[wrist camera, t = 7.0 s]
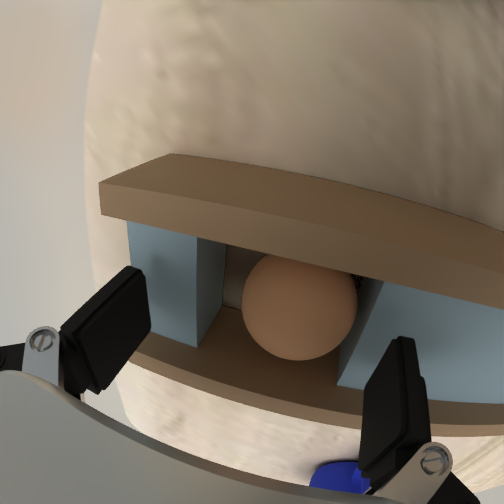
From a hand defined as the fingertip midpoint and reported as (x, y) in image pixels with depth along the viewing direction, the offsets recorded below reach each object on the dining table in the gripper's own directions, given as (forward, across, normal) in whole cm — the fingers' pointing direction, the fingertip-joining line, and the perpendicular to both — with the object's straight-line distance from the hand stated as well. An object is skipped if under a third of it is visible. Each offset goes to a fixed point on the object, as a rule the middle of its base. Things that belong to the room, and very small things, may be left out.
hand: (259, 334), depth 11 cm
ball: (+2, -1, 0) cm, 3 cm away
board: (+5, -7, 0) cm, 8 cm away
